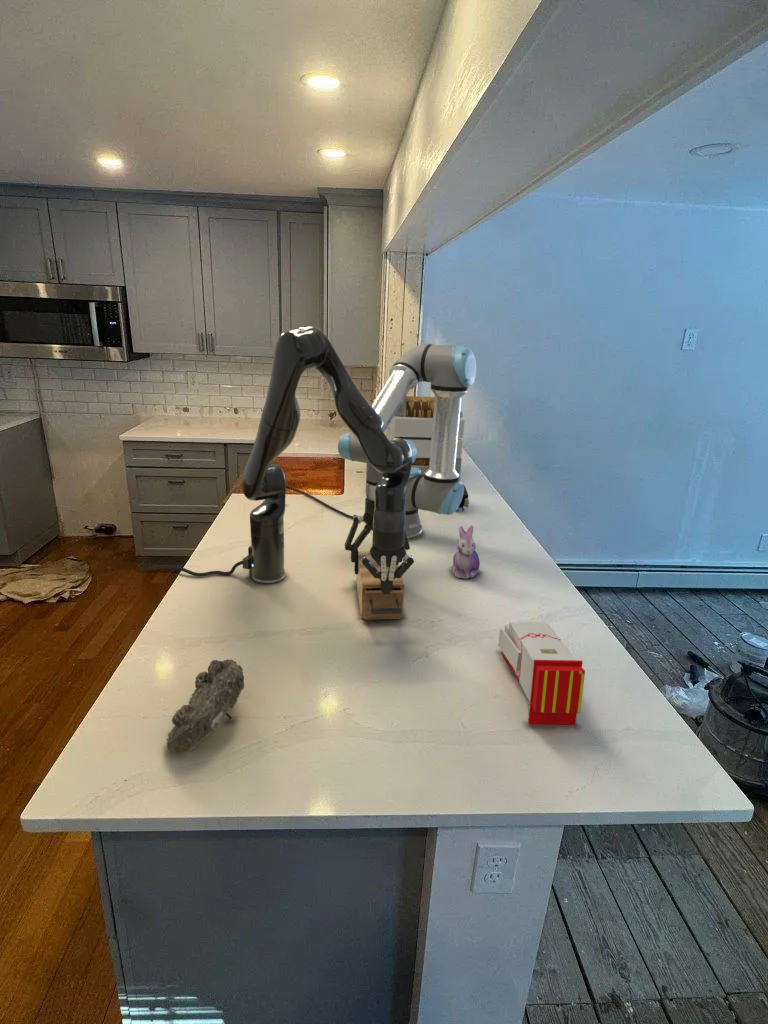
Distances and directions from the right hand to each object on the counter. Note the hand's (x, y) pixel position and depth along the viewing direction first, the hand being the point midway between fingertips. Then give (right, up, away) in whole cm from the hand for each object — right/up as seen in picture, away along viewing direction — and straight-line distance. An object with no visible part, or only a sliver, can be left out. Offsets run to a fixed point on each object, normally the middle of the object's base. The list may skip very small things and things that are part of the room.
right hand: (376, 572), depth 160 cm
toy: (+34, -20, -37) cm, 54 cm away
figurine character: (+32, +19, +71) cm, 80 cm away
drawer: (+1, -8, -11) cm, 13 cm away
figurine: (+27, -2, +13) cm, 30 cm away
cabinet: (+1, -7, -5) cm, 8 cm away
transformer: (+19, +36, +115) cm, 122 cm away
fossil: (-31, -22, -51) cm, 64 cm away
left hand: (+3, -3, -23) cm, 23 cm away
